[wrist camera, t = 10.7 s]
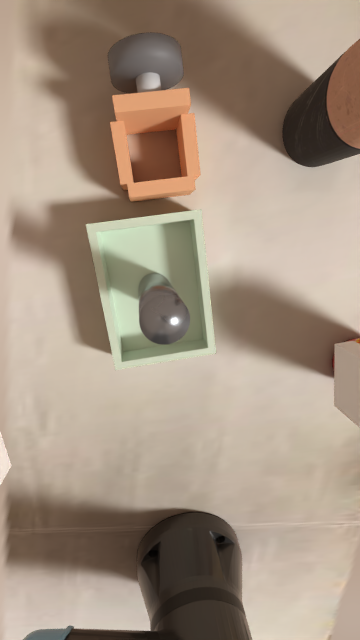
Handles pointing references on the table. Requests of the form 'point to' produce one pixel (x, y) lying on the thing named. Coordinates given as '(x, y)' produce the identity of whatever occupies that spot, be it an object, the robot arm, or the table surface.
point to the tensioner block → (152, 109)
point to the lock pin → (161, 310)
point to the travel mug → (327, 115)
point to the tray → (145, 258)
